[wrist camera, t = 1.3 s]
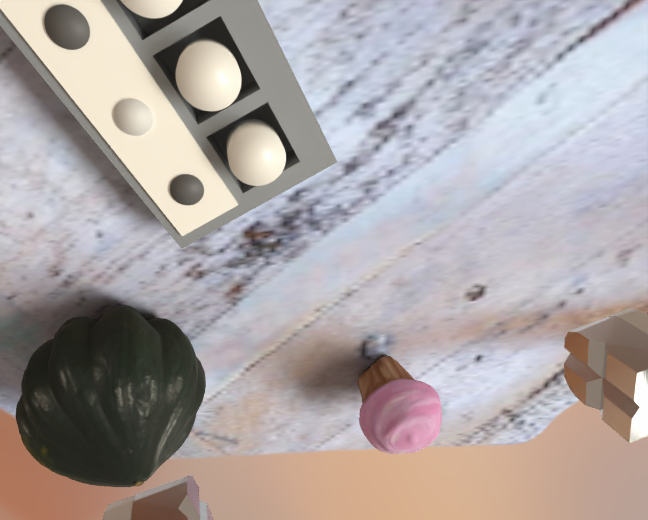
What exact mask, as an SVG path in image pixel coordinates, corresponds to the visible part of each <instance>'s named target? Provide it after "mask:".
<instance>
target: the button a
mask: <svg viewBox="0 0 648 520" xmlns="http://www.w3.org/2000/svg"><path fill="white" fill-rule="evenodd" d="M182 1H183V0H121V2H122V3H123V4H124V5H125V6H126V7H127V8H128V9H130V10H131V11H133V12H134V13H136V14H138V15H140V16H143V17H147V18H162V17H165V16H168V15H170V14H171V13H173V12H174V11H175V10H176V9H177V8H178V7H179V5H180V4H181V3H182Z"/></svg>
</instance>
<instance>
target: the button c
mask: <svg viewBox="0 0 648 520" xmlns="http://www.w3.org/2000/svg"><path fill="white" fill-rule="evenodd" d="M226 148H227V155H228V162H229V166H230V169H231V171H232V173H233V174H234V175H235V176H236V177H237V179H239V180H240V181H242V182H243V183H245V184H248V185H252V186H262V185H266V184H269V183H271V182H273V181H274V180H275V179H277V178H278V177H279V176H280V174H281V173H282V171H283V169H284V167H285V163H286V153H285V149H284V147H283V145H282V143H281V141H280V138H279V136H278V134H277V132H276V131H275V129H274V128H273V127H272V126H271V125H270V124H268V123H267V122H265V121H262V120H259V119H247V120H243V121H241V122H239V123H238V124H236V125H235V126H234V127H233V128H232V129H231V131H230V132H229V134H228V137H227V142H226Z"/></svg>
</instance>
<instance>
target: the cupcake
mask: <svg viewBox="0 0 648 520" xmlns="http://www.w3.org/2000/svg"><path fill="white" fill-rule="evenodd" d="M358 386H359V389H360V392H361V396H362V403H363V404H362V406H361V409H360V418H359V422H360V426H361V429H362V431H363V433H364V435H365V436H366V438H367V439H368V440H369V442H370V443H371V444H372V445H373V446H374V447H375V448H377V449H378V450H380V451H382V452H386V453H391V454H399V453H413V452H416V451H419V450H421V449H423V448H425V447H426V446H428V445H429V444H431V443H432V441H433V440H434V439H435V438H436V437H437V436H438V434H439V430H440V425H441V420H442V414H441V402H440V399H439V396H438V394H437V392H436V391H435V389H434V388H432V387H431V386H430V385H428V384H426V383H423V382H421V381H417V380H414V379H413V378H412V376H411V375H410V374H409V373H408V372H407V371H406V370H405V369H404V368H403V367H402V366H401V365H400V364H399V363H398V362H397V361H396V360H394V359H393V358H392V357H390V356H384V357H381V358H380V359H378V360H377V361H376V362H375V363H374V364H373V365H372V366H371V367H370V368H369V369H368V370H366V371H365V372H364V373H362V374H361V375H360V377H359V378H358Z"/></svg>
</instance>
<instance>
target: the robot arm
mask: <svg viewBox="0 0 648 520" xmlns="http://www.w3.org/2000/svg"><path fill="white" fill-rule="evenodd" d="M564 348H565V349H566V350H567V351H568V352H570V355H569V356H568V358H567V360H566V361H565V363H564V377H565V379H566V381H567V384H568V386H569V388H570V390H571V391H572V392H573V394H574V395H575V396H576V397H577V398H578V399H579V400H580V401H581V402H582V403H583V404H585V405H586V406H590V407H593V408H596V409H599V410H600V412H601V416H602V420H603V421H604V422H606V423H607V424H608V425H609V426H610V427H611V428H612V429H614V430H615V431H616V432H617V433H618V434H619V435H621V436H622V437H623V438H624V439H625V440H627V441H628V442H629V443H631V442H633V441H636V440H638V439H641V438H643V437H646V436H648V315H647V314H645V313H643V312H642V311H640V310H637V309H632V308H628V309H626V310H623V311H621V312H618V313H616V314H613V315H610V316H609V317H605V318H603V319H600V320H598V321H595V322H592V323H590V324H587V325H585V326H582V327H580V328H577V329H575V330H572V331H569V332H568V333H567V335H566V337H565V345H564ZM103 520H213V517H212V514H211V512H210V509H209V508H208V505H207V503H205V502H202V501H200V500H199V487H198V485H197V484H196V482H195V480H194V478H193V476H187V477H184V478H181V479H179V480H176V481H173V482H170V483H167V484H164V485H161V486H159V487H156V488H153V489H150V490H148V491H144V492H142V493H139V494H137V495H135V496H132V497H129V498H126V499H123V500H120V501H117V502H115V503H112V504H109V505H108V507H107V509H106V511H105V513H104V516H103Z"/></svg>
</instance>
